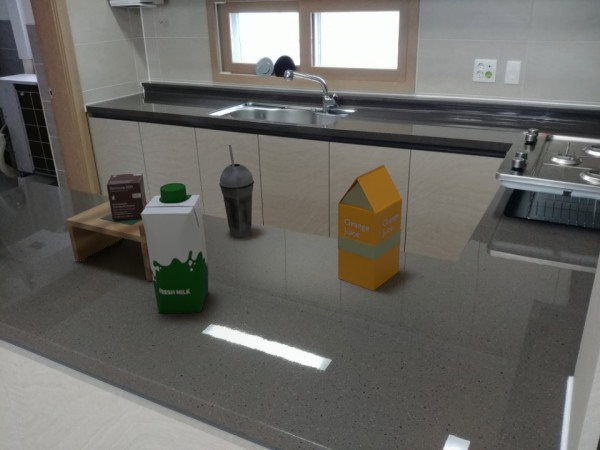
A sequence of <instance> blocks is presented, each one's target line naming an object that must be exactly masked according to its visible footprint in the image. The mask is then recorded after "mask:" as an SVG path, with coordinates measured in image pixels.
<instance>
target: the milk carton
mask: <svg viewBox="0 0 600 450" xmlns="http://www.w3.org/2000/svg"><path fill="white" fill-rule="evenodd" d="M159 193H160V195H154V196H153V197H152V198H151V200H150V201H148V202H149V203H148V204H147V205H146V206H145V209H144V210H143V212H142V213H141V216H142V220H143V224H144V228H145V233H146V240H147V246H148V252H149V259H150V265H151V271H152V277H153V281H152V283H153V288H154V289H153V290H154V294H155V300H156V305H157V310H158V311H157V312H158V313H159V314H161V313H162V314H163V313H165V314H169V313H173V314H175V313H176V314H177V313H201V312H202V308H203V307H204V303H205V301H206V297H207V295H208V292H209V265H208V256H207V247H206V238H205V237H206V235H205V229H204V220H203V212H202V204H201V195H200V194H187V188H186V184H184V183H180V182H172V183H166V184H164V185H161V186H160V187H159Z"/></svg>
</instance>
